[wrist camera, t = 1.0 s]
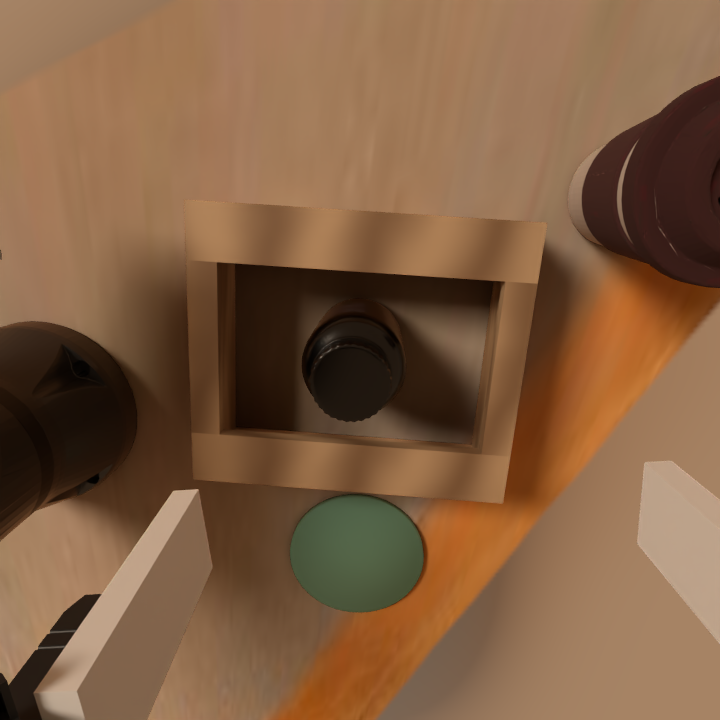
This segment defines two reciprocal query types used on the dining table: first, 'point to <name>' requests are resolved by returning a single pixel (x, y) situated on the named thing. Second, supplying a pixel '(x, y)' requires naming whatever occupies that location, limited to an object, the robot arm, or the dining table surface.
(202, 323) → the cover box
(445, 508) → the dining table surface
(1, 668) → the dining table surface
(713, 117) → the coffee cup
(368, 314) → the supplement bottle
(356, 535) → the mat
